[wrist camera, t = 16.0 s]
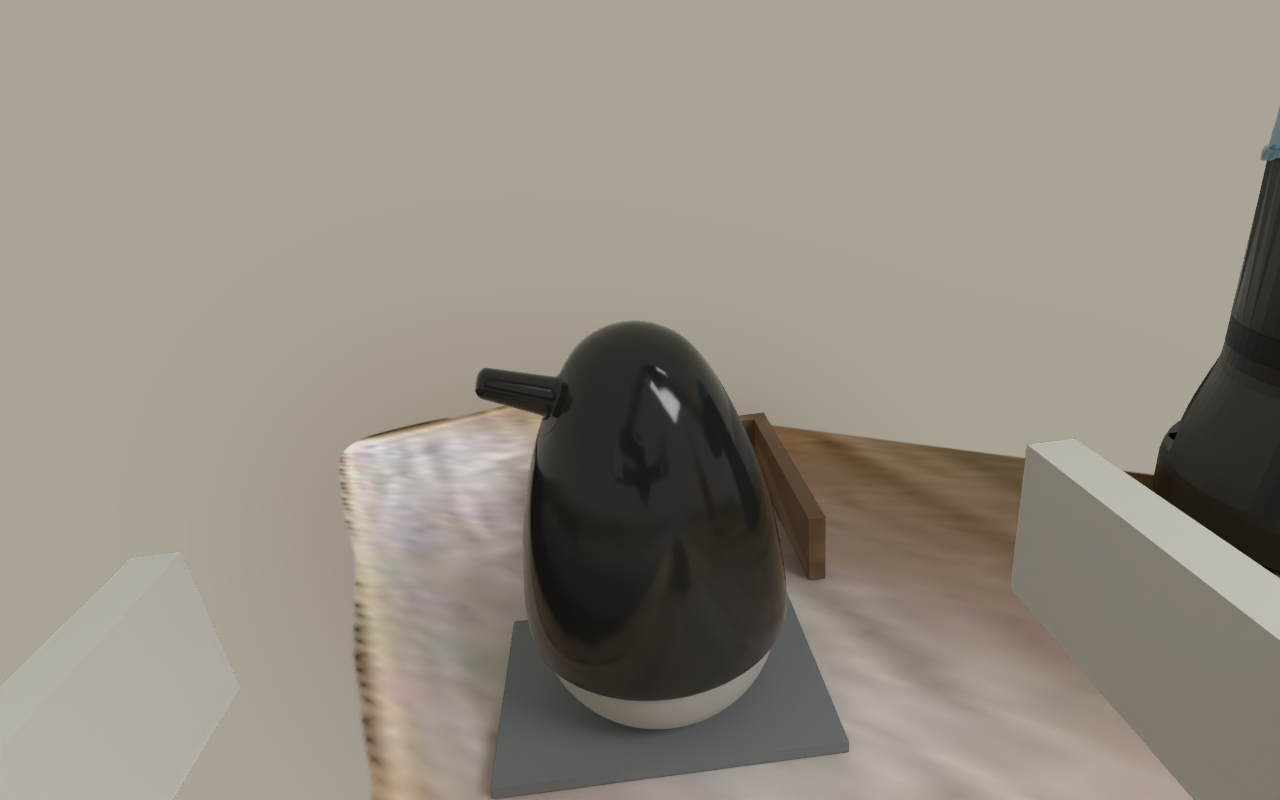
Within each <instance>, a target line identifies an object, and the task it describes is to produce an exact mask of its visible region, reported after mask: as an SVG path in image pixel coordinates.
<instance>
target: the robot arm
mask: <svg viewBox="0 0 1280 800" xmlns="http://www.w3.org/2000/svg"><path fill="white" fill-rule="evenodd" d="M1261 160H1266V161H1267V163H1266V168H1265V173H1264V177H1263V181H1262V186H1261V190H1260V195H1259V199H1258V203H1257V207H1256V211H1255V215H1254V220H1253V224H1252V228H1251V232H1250V236H1249V240H1248V245H1247V249H1246V253H1245V257H1244V261H1243V265H1242V270H1241V274H1240V278H1239V282H1238V286H1237V290H1236V295H1235V299H1234V303H1233V307H1232V311H1231V317H1230V321H1229V325H1228V330H1227V334H1226V337H1225V342H1224V346H1223V349H1222V352H1221V354H1220V356H1219V358H1218V359H1217V361H1216V363H1215V364H1214V365H1213V367H1212V368H1211V370H1210V371H1209V373H1208V374H1207V376H1206V377H1205V379H1204V380H1203V382H1202V384H1201V385H1200V386H1199V388H1198V390H1197V391H1196V393H1195V395H1194V396H1193V398H1192V400H1191V402H1190V403H1189V405H1188V407H1187V409H1186V411H1185V413H1184V415H1183V417H1182V419H1181V421H1179V422H1177V423H1176V424H1175V425H1174V426H1173V427H1171V428H1170V429H1169V431H1168V433H1167V434H1166V436H1165V437H1164V439H1163V441H1162V443H1161V446H1160V449H1159V454H1158V459H1157V464H1156V469H1155V473H1154V479H1153V484H1154V489H1155V491H1156V493H1154V492H1153V491H1151V490H1150V489H1148V488H1147V487H1146V486H1144V485H1143V484H1141V483H1140V482H1138V481H1137V480H1135V479H1134V478H1132V477H1131V476H1129V475H1128V474H1127V473H1125V472H1124V471H1122V470H1121V469H1119V468H1117V467H1116V466H1115V465H1113V464H1112V463H1110V462H1109V461H1107V460H1106V459H1105V458H1103V457H1102V456H1100V455H1099V454H1097V453H1096V452H1094V451H1093V450H1092V449H1090V448H1088V447H1087V446H1086V445H1084V444H1083V443H1081V442H1080V441H1078V440H1077V439H1075V438H1074V439H1067V440H1058V441H1051V442H1043V443H1035V444H1027V449H1026V457H1025V466H1024V474H1023V483H1022V491H1021V500H1020V508H1019V516H1018V525H1017V533H1016V542H1015V550H1014V559H1013V567H1012V576H1011V584H1010V589H1011V590H1012V591H1013V592H1014V593H1015V595H1016V596H1017V597H1018V598H1019V599H1020V600H1021V601H1022V603H1023V604H1024V605H1025V606H1026V607H1027V608H1028V610H1029V611H1030V612H1031V613H1032V614H1033V615H1034V616H1035V618H1036V619H1037V620H1038V621H1039V622H1040V623H1041V624H1042V626H1043V627H1044V628H1045V629H1046V630H1047V631H1048V633H1049V634H1050V635H1051V636H1052V637H1053V638H1054V639H1055V641H1056V642H1057V643H1058V644H1059V645H1060V646H1061V647H1062V649H1063V650H1064V651H1065V652H1066V653H1067V654H1068V656H1069V657H1070V658H1071V659H1072V660H1073V661H1074V662H1075V664H1076V665H1077V666H1078V667H1079V668H1080V669H1081V670H1082V672H1083V673H1084V674H1085V675H1086V676H1087V677H1088V678H1089V680H1090V681H1091V682H1092V683H1093V684H1094V685H1095V687H1096V688H1097V689H1098V690H1099V691H1100V692H1101V693H1102V695H1103V696H1104V697H1105V698H1106V699H1107V700H1108V701H1109V703H1110V704H1111V705H1112V706H1113V707H1114V708H1115V710H1116V711H1117V712H1118V713H1119V714H1120V715H1121V716H1122V718H1123V719H1124V720H1125V721H1126V722H1127V723H1128V724H1129V726H1130V727H1131V728H1132V729H1133V730H1134V731H1135V733H1136V734H1137V735H1138V736H1139V737H1140V738H1141V739H1142V741H1143V742H1144V743H1145V744H1146V745H1147V746H1148V747H1149V749H1150V750H1151V751H1152V752H1153V753H1154V754H1155V756H1156V757H1157V758H1158V759H1159V760H1160V761H1161V762H1162V764H1163V765H1164V766H1165V767H1166V768H1167V769H1168V770H1169V772H1170V773H1171V774H1172V775H1173V776H1174V777H1175V779H1176V780H1177V781H1178V782H1179V783H1180V784H1181V785H1182V787H1183V788H1184V789H1185V790H1186V791H1187V792H1188V793H1189V795H1190V796H1191V797H1192V798H1193V799H1194V800H1280V578H1278V577H1277V576H1275V575H1274V574H1272V573H1271V572H1270V571H1268V570H1267V569H1265V568H1264V567H1262V566H1261V565H1264V566H1266V567H1269V568H1272V569H1274V570H1277V571H1280V109H1279V112H1278V115H1277V119H1276V122H1275V126H1274V129H1273V133H1272V136H1271V139H1270V143H1269V144H1268V145H1267V146H1265V147H1264V149H1263V150H1262V154H1261ZM1258 563H1259V564H1261V565H1259V564H1258ZM239 690H240V687H239V684H238V682H237V679H236V677H235V675H234V672H233V670H232V668H231V666H230V663H229V661H228V659H227V656H226V654H225V652H224V650H223V647H222V645H221V642H220V640H219V638H218V635H217V633H216V631H215V628H214V626H213V624H212V621H211V619H210V617H209V614H208V612H207V610H206V607H205V605H204V603H203V600H202V598H201V596H200V594H199V591H198V589H197V587H196V584H195V582H194V579H193V577H192V575H191V573H190V570H189V568H188V565H187V563H186V561H185V559H184V556H183V554H182V552H181V551H180V552H172V553H165V554H156V555H148V556H141V557H132V558H130V559H129V560H128V561H127V562H126V563H125V564H124V565H123V566H122V567H121V568H120V569H119V570H118V571H117V572H116V573H115V574H114V575H113V576H112V577H111V578H110V579H109V580H108V581H107V582H106V583H105V584H104V585H103V586H102V587H101V588H100V589H98V590H97V592H95V593H94V595H92V596H91V597H90V598H89V599H88V600H87V601H86V602H85V603H84V604H83V605H82V606H81V607H80V608H79V609H78V610H77V611H76V612H75V613H74V614H73V615H72V616H71V617H70V618H69V619H68V620H67V621H66V622H65V623H64V624H63V625H62V626H61V627H60V628H59V629H58V630H57V631H56V632H55V633H54V634H53V635H52V636H51V637H50V638H49V639H47V641H45V642H44V643H43V644H42V646H40V647H39V648H38V649H37V650H36V651H35V652H34V653H33V654H32V655H31V656H30V657H29V658H28V659H27V660H26V661H25V662H24V663H23V664H22V665H21V666H20V667H19V668H18V669H17V670H16V671H15V672H14V673H13V674H12V675H11V676H10V677H9V678H8V679H7V680H6V681H5V682H4V683H3V684H2V685H1V686H0V800H173V799H174V797H175V796H176V794H177V792H178V791H179V789H180V787H181V786H182V784H183V782H184V781H185V779H186V777H187V776H188V774H189V773H190V771H191V769H192V767H193V766H194V764H195V762H196V761H197V759H198V758H199V756H200V754H201V753H202V751H203V749H204V748H205V746H206V744H207V743H208V741H209V739H210V738H211V736H212V734H213V733H214V731H215V729H216V728H217V726H218V724H219V723H220V721H221V719H222V718H223V716H224V714H225V713H226V711H227V709H228V708H229V706H230V704H231V703H232V701H233V700H234V698H235V696H236V694H237V693H238V691H239Z"/></svg>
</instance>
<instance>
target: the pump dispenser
mask: <svg viewBox="0 0 1280 800" xmlns="http://www.w3.org/2000/svg"><path fill="white" fill-rule="evenodd" d="M475 391H476V394H477V396H478V397H479V398H481V399H484V400H488V401H491V402H495V403H498V404H502V405H506V406H509V407H513V408H517V409H520V410H524V411H527V412H531V413H535V414H538V415H541V416H543V418H542V421H541V425H540V428H539V431H538V434H537V438H536V442H535V446H534V450H533V455H532V459H531V464H530V470H529V476H528V483H527V491H526V499H525V509H524V523H523V573H524V594H525V605H526V612H527V619H528V624H529V629H530V633H531V637H532V640H533V643H534V645H535V647H536V650H537V651H538V653H539V655H540V656H541V658H542V659H543V660H544V662H545V663H546V664H547V665H548V666H549V667H550V668H551V669H552V670H553V671H554V672H555V673H556V675H557V676H558V678H559V679H560V680H561V682H562V683H563V684H564V686H565V687H566V688H567V689H568V690H569V691H570V692H571V693H572V695H573V696H574V697H575V698H577V699H578V700H579V701H580V702H581V703H582V704H584V705H585V706H586V707H588V708H589V709H591V710H592V711H594V712H595V713H597V714H599V715H601V716H602V717H604V718H607V719H609V720H611V721H614V722H616V723H620V724H623V725H626V726H631V727H635V728H643V729H671V728H678V727H683V726H688V725H691V724H694V723H698V722H700V721H703V720H705V719H708V718H710V717H712V716H714V715H716V714H718V713H719V712H721V711H723V710H724V709H726V708H727V707H728V706H730V705H731V704H732V703H734V702H735V701H736V700H737V699H738V698H739V697H741V696H742V695H743V694H744V693H745V692H746V690H747V689H748V688H749V687H750V686H751V685H752V683H753V682H754V681H755V679H756V678H757V676H758V675H759V673H760V672H761V670H762V668H763V666H764V664H765V662H766V660H767V658H768V655H769V653H770V650H771V648H772V646H773V645H774V643H775V642H776V640H777V638H778V637H779V635H780V632H781V630H782V628H783V625H784V621H785V616H786V605H787V594H786V578H785V570H784V563H783V557H782V551H781V546H780V540H779V535H778V530H777V525H776V521H775V516H774V512H773V508H772V504H771V500H770V496H769V493H768V489H767V486H766V483H765V480H764V477H763V474H762V471H761V468H760V465H759V462H758V460H757V457H756V454H755V452H754V450H753V447H752V445H751V442H750V440H749V438H748V435H747V433H746V431H745V429H744V426H743V424H742V422H741V420H740V418H739V416H738V414H737V412H736V410H735V408H734V406H733V404H732V402H731V400H730V398H729V396H728V394H727V393H726V391H725V389H724V387H723V386H722V384H721V382H720V381H719V379H718V377H717V376H716V374H715V373H714V371H713V370H712V368H711V367H710V365H709V364H708V363H707V361H706V360H705V359H704V357H703V356H702V355H701V354H700V352H699V351H698V350H697V349H696V348H695V347H694V346H693V345H692V344H691V343H690V342H689V341H688V340H687V339H686V338H685V337H683V336H682V335H680V334H679V333H677V332H676V331H673V330H672V329H669V328H667V327H665V326H661V325H659V324H655V323H652V322H646V321H623V322H618V323H614V324H610V325H607V326H605V327H602V328H600V329H598V330H596V331H594V332H593V333H591V334H590V335H588V336H587V337H585V338H584V339H583V340H581V341H580V343H578V344H577V345H576V347H575V348H574V349H573V350H572V352H571V353H570V355H569V356H568V358H567V359H566V361H565V363H564V365H563V367H562V369H561V371H560V373H559V374H558V376H556V377H552V376H544V375H536V374H529V373H522V372H514V371H507V370H499V369H491V368H483V369H482V370H481V371H480V372H479V373H478V375H477V378H476V384H475Z"/></svg>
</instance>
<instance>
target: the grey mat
mask: <svg viewBox="0 0 1280 800" xmlns="http://www.w3.org/2000/svg"><path fill="white" fill-rule="evenodd" d="M786 594H787V592H786ZM843 752H849V741H848V738H847V736H846V734H845V731H844V729H843V727H842V724H841V722H840V719H839V717H838V715H837V712H836V710H835V707H834V705H833V703H832V700H831V698H830V695H829V693H828V691H827V688H826V686H825V683H824V681H823V679H822V676H821V674H820V671H819V669H818V667H817V664H816V662H815V659H814V657H813V655H812V652H811V650H810V647H809V645H808V643H807V640H806V638H805V636H804V633H803V631H802V628H801V626H800V624H799V621H798V619H797V616H796V614H795V612H794V609H793V607H792V604H791V602H790V600H789V597H788V595H787V605H786V616H785V621H784V625H783V628H782V630H781V632H780V635H779V637H778V638H777V640H776V642H775V643H774V645H773V646H772V648H771V650H770V653H769V655H768V658H767V660H766V662H765V664H764V666H763V668H762V670H761V672H760V673H759V675H758V676H757V678H756V679H755V681H754V682H753V683H752V685H751V686H750V687H749V688H748V689H747V690H746V692H745V693H744V694H743V695H742V696H741V697H739V698H738V699H737V700H736V701H735V702H734V703H732V704H731V705H730V706H728V707H727V708H726V709H724V710H723V711H721V712H719V713H718V714H716V715H714V716H712V717H710V718H708V719H705V720H703V721H700V722H698V723H694V724H691V725H688V726H683V727H678V728H671V729H643V728H635V727H631V726H626V725H623V724H620V723H616V722H614V721H611V720H609V719H607V718H604V717H602V716H601V715H599V714H597V713H595V712H594V711H592V710H591V709H589V708H588V707H586V706H585V705H584V704H582V703H581V702H580V701H579V700H578V699H577V698H575V697H574V696H573V695H572V693H571V692H570V691H569V690H568V689H567V688H566V687H565V686H564V684H563V683H562V682H561V680H560V679H559V678H558V676H557V675H556V673H555V672H554V671H553V670H552V669H551V668H550V667H549V666H548V665H547V664H546V663H545V662H544V660H543V659H542V658H541V656H540V655H539V653H538V651H537V650H536V647H535V645H534V643H533V640H532V637H531V633H530V629H529V624H528V620H524V621H516V622H514V628H513V635H512V642H511V649H510V656H509V663H508V670H507V677H506V684H505V691H504V698H503V705H502V712H501V719H500V726H499V733H498V740H497V747H496V754H495V761H494V768H493V775H492V782H491V793H492V797H493V799H496V798H504V797H511V796H519V795H526V794H534V793H541V792H549V791H557V790H564V789H572V788H579V787H587V786H594V785H602V784H609V783H617V782H624V781H632V780H640V779H647V778H655V777H662V776H670V775H677V774H685V773H692V772H700V771H707V770H715V769H723V768H730V767H738V766H745V765H753V764H760V763H768V762H775V761H783V760H790V759H798V758H806V757H813V756H821V755H828V754H836V753H843Z"/></svg>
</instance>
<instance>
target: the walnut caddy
mask: <svg viewBox="0 0 1280 800" xmlns="http://www.w3.org/2000/svg"><path fill="white" fill-rule="evenodd" d="M739 418H740V420H741V422H742V424H743V426H744V429H745V431H746V433H747V435H748V438H749V440H750V442H751V445H752V447H753V450H754V452H755V454H756V457H757V460H758V462H759V465H760V468H761V471H762V474H763V477H764V480H765V483H766V486H767V489H768V493H769V496H770V498H771V501H772V503H773V505H774V507H775V509H776V511H777V513H778V515H779V517H780V519H781V521H782V524H783V526H784V528H785V530H786V532H787V534H788V536H789V538H790V540H791V542H792V544H793V547H794V549H795V551H796V553H797V555H798V557H799V559H800V561H801V563H802V565H803V567H804V570H805V572H806V574H807V576H808V578H809V580H812V579H820V578H825V516H824V514H823V513H822V511H821V509H820V507H819V506H818V504H817V502H816V501H815V499H814V497H813V496H812V494H811V492H810V491H809V489H808V487H807V485H806V484H805V482H804V480H803V479H802V477H801V475H800V474H799V472H798V470H797V469H796V467H795V465H794V464H793V462H792V460H791V458H790V457H789V455H788V453H787V452H786V450H785V448H784V447H783V445H782V443H781V442H780V440H779V438H778V436H777V435H776V433H775V431H774V430H773V428H772V426H771V425H770V423H769V421H768V420H767V418H766V416H765V414H764V413H757V414H749V415H741V416H739Z"/></svg>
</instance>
